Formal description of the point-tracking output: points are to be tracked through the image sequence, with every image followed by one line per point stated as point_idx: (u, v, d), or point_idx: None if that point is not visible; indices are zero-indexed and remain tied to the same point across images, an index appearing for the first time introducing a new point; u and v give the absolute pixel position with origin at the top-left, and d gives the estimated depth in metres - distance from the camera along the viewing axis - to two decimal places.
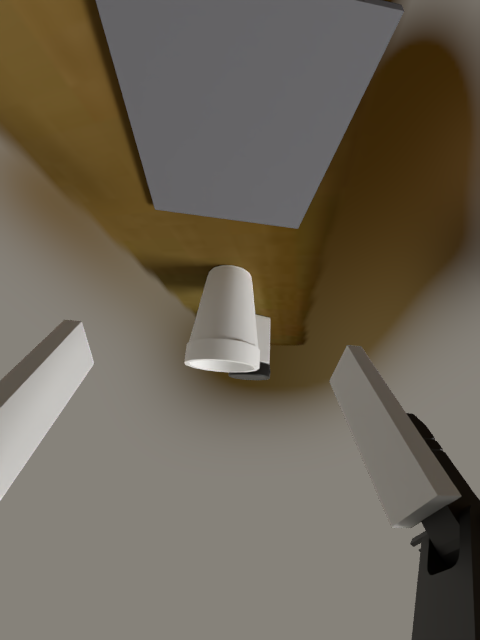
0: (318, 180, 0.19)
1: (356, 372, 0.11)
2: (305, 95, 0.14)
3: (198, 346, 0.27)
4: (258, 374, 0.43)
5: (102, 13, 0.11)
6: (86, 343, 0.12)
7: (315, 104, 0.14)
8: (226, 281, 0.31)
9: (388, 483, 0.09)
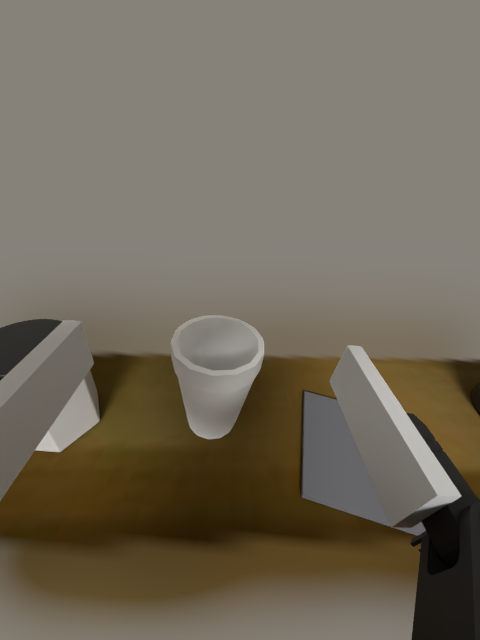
0: (355, 510, 0.24)
1: (356, 372, 0.11)
2: None
3: None
4: None
5: None
6: (86, 343, 0.12)
7: None
8: None
9: (388, 483, 0.09)
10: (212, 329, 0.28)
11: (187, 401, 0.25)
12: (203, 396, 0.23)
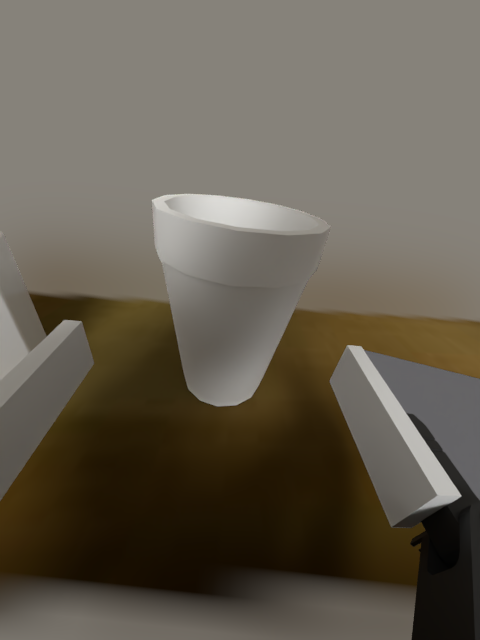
0: None
1: (356, 372, 0.11)
2: None
3: None
4: None
5: None
6: (86, 343, 0.12)
7: None
8: None
9: (388, 483, 0.09)
10: (227, 222, 0.17)
11: (183, 328, 0.14)
12: (214, 302, 0.11)
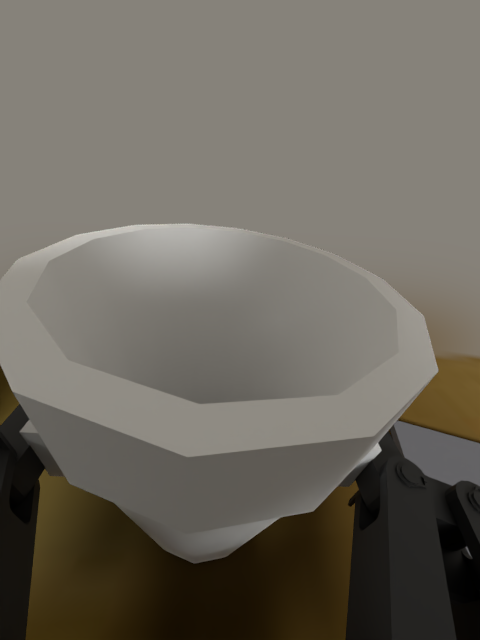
0: None
1: None
2: None
3: None
4: None
5: None
6: None
7: None
8: None
9: None
10: (208, 266, 0.10)
11: None
12: None
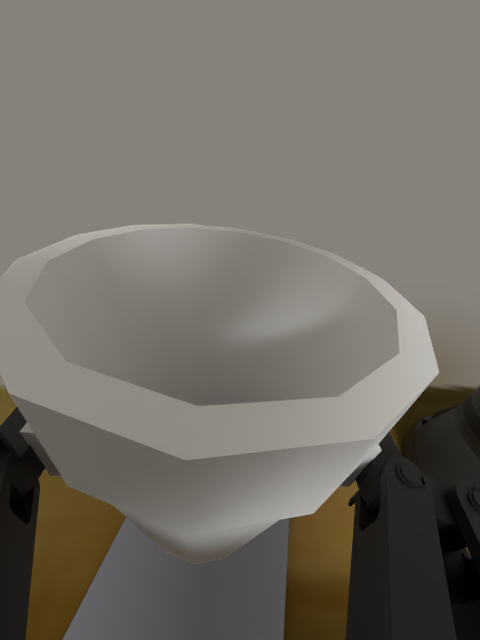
0: None
1: None
2: (229, 637, 0.16)
3: None
4: None
5: None
6: None
7: None
8: None
9: None
10: (207, 267, 0.10)
11: None
12: None
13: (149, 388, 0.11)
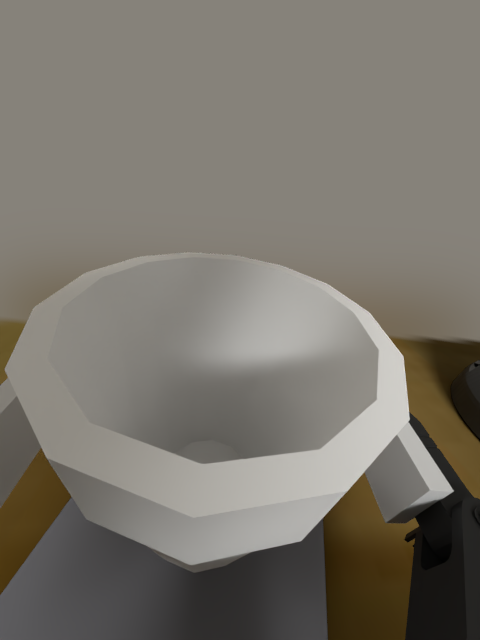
0: None
1: None
2: (246, 614, 0.11)
3: None
4: None
5: None
6: None
7: (235, 638, 0.10)
8: None
9: (383, 479, 0.09)
10: (207, 292, 0.11)
11: None
12: None
13: (151, 405, 0.12)
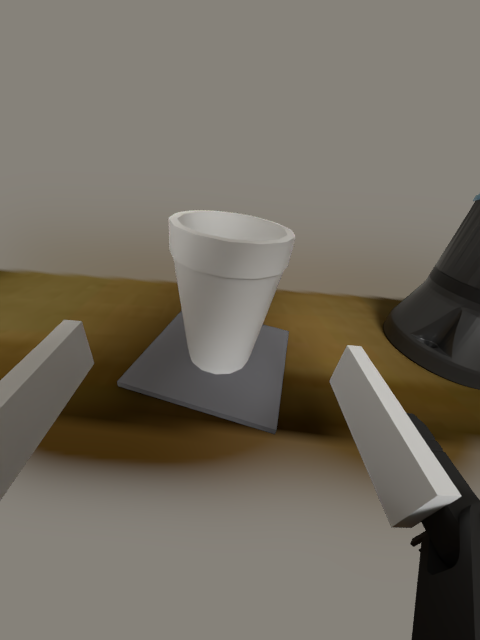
0: (176, 397, 0.20)
1: (356, 372, 0.11)
2: (241, 387, 0.22)
3: None
4: None
5: (273, 328, 0.30)
6: (86, 343, 0.12)
7: (236, 392, 0.21)
8: None
9: (388, 483, 0.09)
10: (222, 230, 0.22)
11: (190, 310, 0.19)
12: (213, 289, 0.16)
13: None
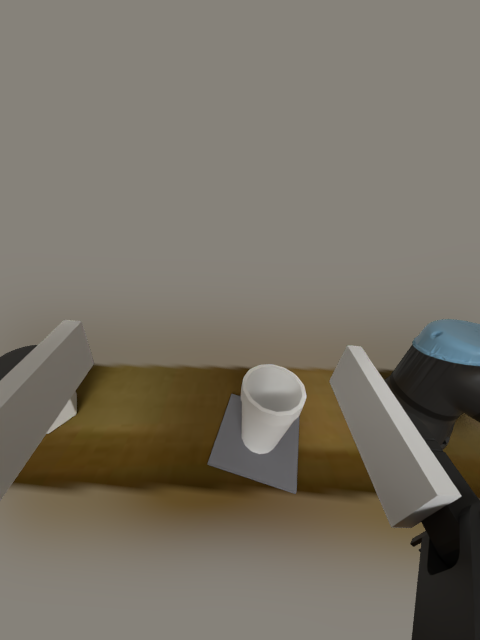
0: (241, 472, 0.37)
1: (356, 372, 0.11)
2: (275, 463, 0.39)
3: None
4: None
5: None
6: (86, 343, 0.12)
7: (272, 467, 0.38)
8: None
9: (388, 483, 0.09)
10: (263, 374, 0.39)
11: (250, 428, 0.36)
12: (266, 427, 0.33)
13: None
